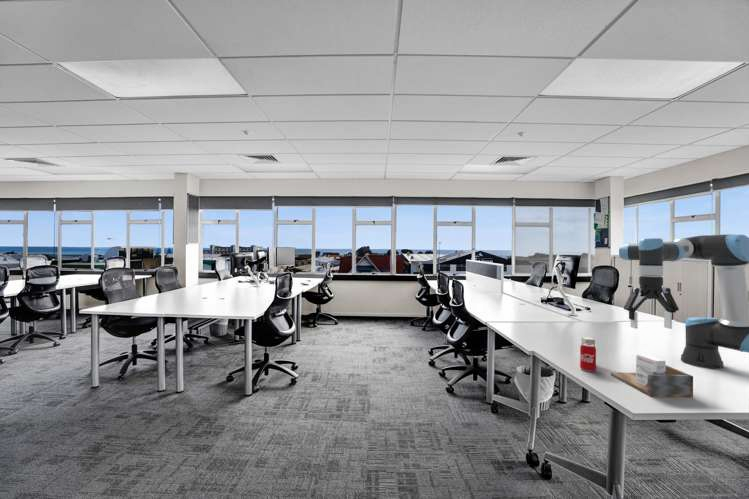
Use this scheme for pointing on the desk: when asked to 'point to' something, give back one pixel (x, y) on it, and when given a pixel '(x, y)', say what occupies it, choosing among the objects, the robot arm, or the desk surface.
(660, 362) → the ink box
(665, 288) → the robot arm
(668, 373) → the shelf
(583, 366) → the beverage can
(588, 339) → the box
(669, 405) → the desk surface
